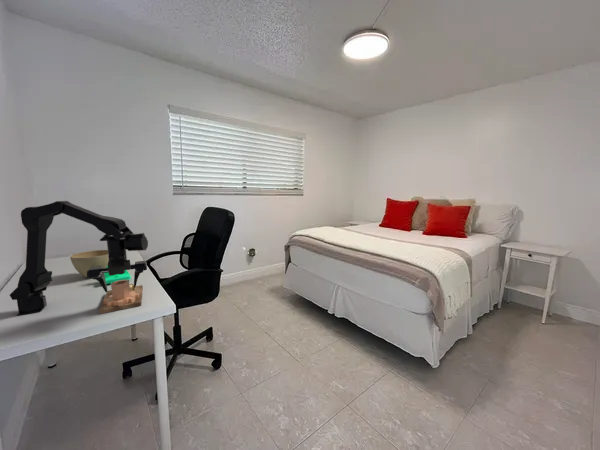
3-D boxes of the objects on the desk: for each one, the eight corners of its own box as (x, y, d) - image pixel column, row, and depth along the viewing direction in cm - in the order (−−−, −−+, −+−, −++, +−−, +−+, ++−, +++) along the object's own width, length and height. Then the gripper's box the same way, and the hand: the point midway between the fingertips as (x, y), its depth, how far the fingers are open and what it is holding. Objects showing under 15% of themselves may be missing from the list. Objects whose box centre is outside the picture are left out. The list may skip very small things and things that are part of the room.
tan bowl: (98, 281, 125) (95, 257, 124) (63, 281, 126) (60, 257, 124) (124, 270, 143) (122, 249, 142) (93, 270, 144) (90, 249, 142)
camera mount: (101, 287, 118) (98, 266, 117) (100, 282, 124) (98, 262, 123) (131, 281, 126) (129, 261, 125) (129, 277, 132) (127, 258, 130)
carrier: (99, 313, 92) (97, 298, 91) (108, 294, 110) (106, 280, 109) (141, 305, 98) (139, 291, 97) (142, 288, 116) (141, 275, 115)
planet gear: (102, 309, 92) (99, 290, 91) (106, 298, 102) (104, 280, 101) (138, 302, 98) (136, 284, 97) (139, 292, 107) (137, 275, 106)
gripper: (80, 259, 85) (86, 302, 88) (144, 252, 95) (148, 291, 97) (87, 252, 95) (92, 291, 97) (145, 247, 104) (148, 282, 106)
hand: (121, 289), depth 99 cm, fingers open, 9 cm apart
